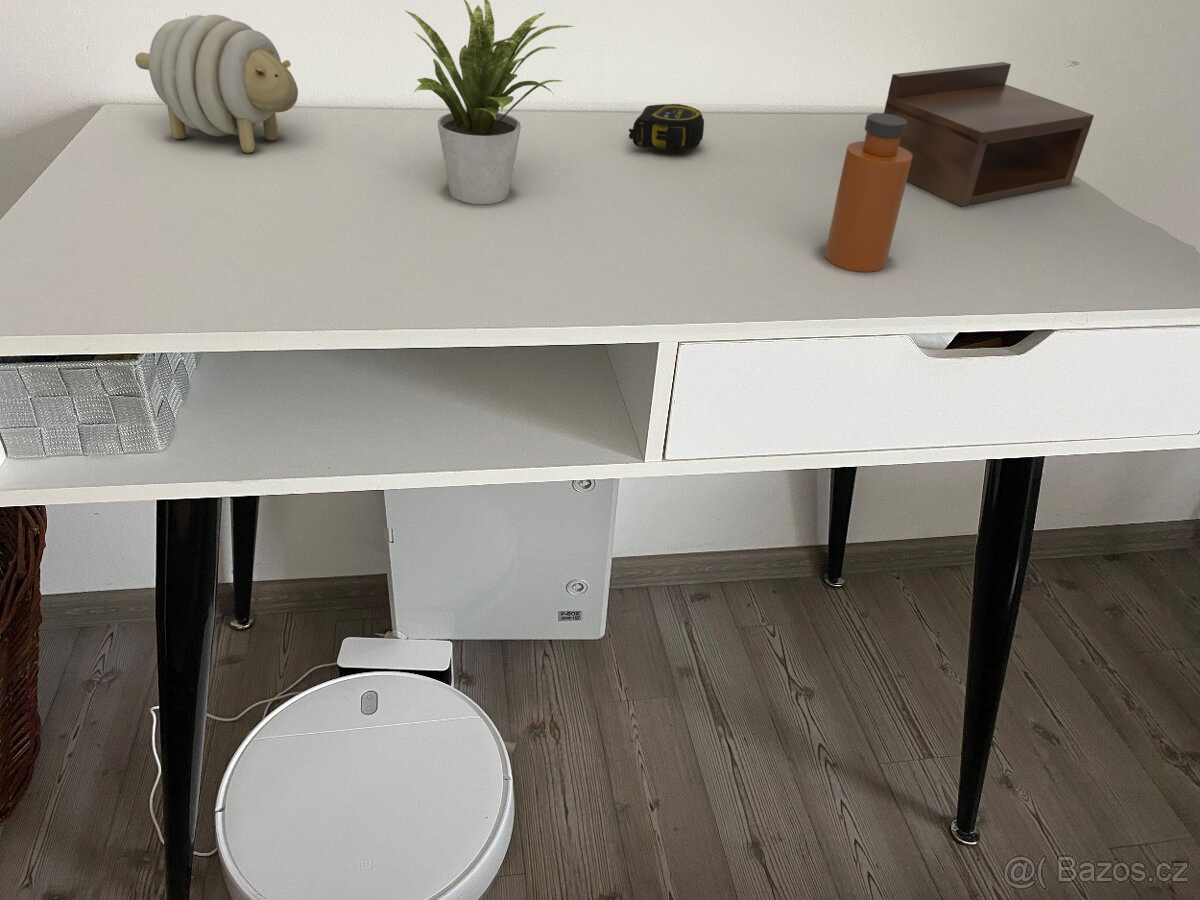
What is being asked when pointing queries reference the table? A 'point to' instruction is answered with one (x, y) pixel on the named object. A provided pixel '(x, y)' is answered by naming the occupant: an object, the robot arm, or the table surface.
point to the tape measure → (668, 127)
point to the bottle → (869, 196)
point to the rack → (984, 134)
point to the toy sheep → (219, 77)
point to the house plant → (480, 106)
